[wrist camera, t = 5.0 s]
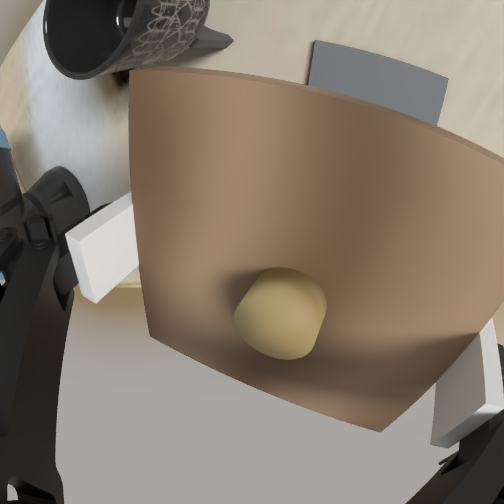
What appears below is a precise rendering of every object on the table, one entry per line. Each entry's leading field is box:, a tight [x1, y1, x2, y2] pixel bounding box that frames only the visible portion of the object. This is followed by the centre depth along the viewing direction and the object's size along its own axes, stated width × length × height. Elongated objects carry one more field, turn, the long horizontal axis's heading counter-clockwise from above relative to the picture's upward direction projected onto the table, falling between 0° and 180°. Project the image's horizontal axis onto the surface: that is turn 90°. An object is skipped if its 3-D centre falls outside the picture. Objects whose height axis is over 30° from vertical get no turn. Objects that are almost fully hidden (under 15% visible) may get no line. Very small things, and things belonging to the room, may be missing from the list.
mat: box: [308, 40, 448, 126], centre depth 30 cm, size 14×16×1 cm
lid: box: [129, 66, 504, 432], centre depth 10 cm, size 12×12×3 cm
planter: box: [43, 0, 233, 80], centre depth 22 cm, size 13×13×18 cm
